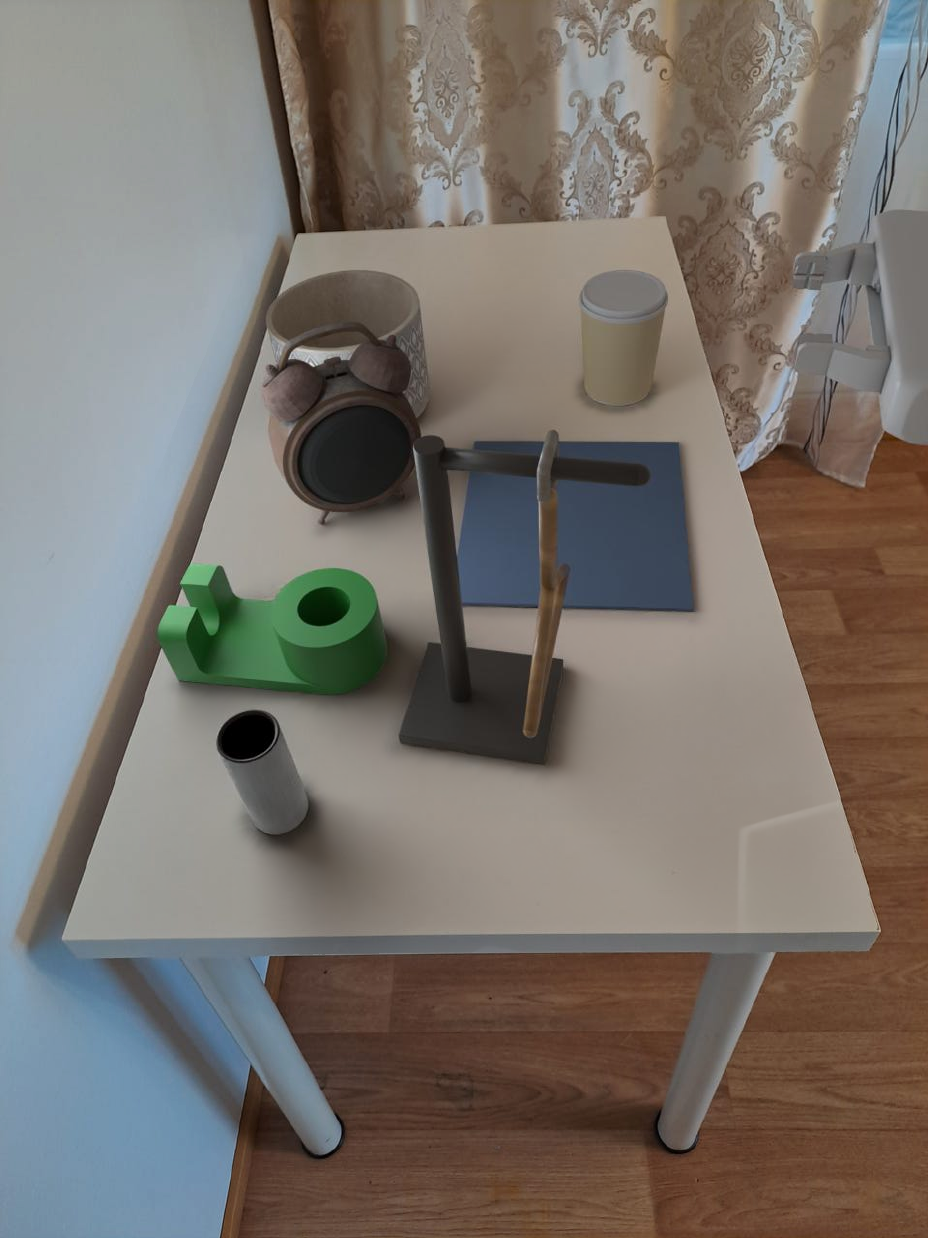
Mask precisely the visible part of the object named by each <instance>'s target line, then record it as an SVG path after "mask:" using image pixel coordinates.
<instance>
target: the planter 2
mask: <svg viewBox="0 0 928 1238" xmlns="http://www.w3.org/2000/svg"><path fill="white" fill-rule="evenodd" d="M420 301H421V300H420V298H419V294H418V293H417V291H416V289H415V288H414V286H412V285H411V284H410V283H409V282H408V281H406V280H404V279H403V278H401V277H399V276H397V275H394V274H390V273H388V272H383V271H377V270H368V269H348V270H340V271H339V270H338V271H333V272H328V273H327V272H326V273H323V274H319V275H316V276H313V277H310V278H307V279H305V280H302V281H300V282H298V283H296V284H293V285H292V286H291V287H288V288H287V289H285V291H283V292H281V293H280V294H279V295H278V296H277V297H276V298H275V299H274V300H273V301H272V303H270V306H269V307H268V309H267V312H266V315H265V325H266V329H267V334H268V338H269V340H270V344H271V345H270V346H271V348H272V352H273V355H274V360H275V365H276V364H278V361H279V358H280V355H281V353H282V350H283V347H284V346H285V344H286V343H287V342H288V341H289V340H291V339H293V338H295V337H296V336H298V335H300V334H302V333H304V332H307V331H309V330H312V329H315V328H319V327H323V326H327V325H330V324H336V323H341V322H358V323H360V324H363V325H364V326H365V327H366V328H367V329H368V330H369V331H371V332H372V333H373V335H374V336H375V337H376V338H377V339H380V340H385V341H386V340H387V338H388V337H389V336H390V335H395V336H396V345H397V346H398V347H399V348H400V349H402V350H403V352H404V353H405V354H406V355H407V357H408V359H409V361H410V365H411V376H410V381H409V384H408V387H407V389H406V391H403V393H404V395H405V396H406V398H407V399H408V401H409V403H410V405H411V407H412V409H413V411H414V414H415V416H416V419H417V420H418V418H419V417H420V416H421V414H423V412H424V411H425V409H426V408H427V406H428V404H429V400H430V396H431V389H430V381H429V371H428V361H427V354H426V345H425V337H424V327H423V318H422V311H421V304H420V303H421V302H420ZM368 340H369V339H368V338H367V337H366V336H365V335H364V334H362V333H360V332H341V333H336V334H331V335H328V336H324V337H320V338H317V339H314V340H311V341H308V342H306V343H305V344H303V345H301V346H299V347H297V348H296V349H294V350H293V351H292V353H291V354H290V357H289V359H298V360H301V361H304V362H306V363H308V364H310V365H311V366H313V367H315V366H317V365H320V364H323V363H324V360H326V359H329V358H333V357H340V358H341V360H350V358H351V356H352V354H353V353H354V351H355V350H356V349H357V347H358V346H359V345H361V344H362V343H363V342H365V341H368Z"/></svg>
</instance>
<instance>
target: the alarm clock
mask: <svg viewBox="0 0 928 1238" xmlns="http://www.w3.org/2000/svg"><path fill="white" fill-rule="evenodd" d="M341 332H360V333H362V334H364V335H365V336H366V337H367V338H368V339H369V340H368V341H365V342H363V343H362V344H361V345H359V346H358V347H357V349H356V350H355V351H354V353H353V354H352V356H351V358H350V360H341V358H340V357H333V358H329V359H326V360H324V363H323V364H320V365H317V366H315V367H313V366H311V365H310V364H308V363H306V362H304V361H301V360H298V359H289V357H290V354H291V353H292V351H293V350H294V349H296V348H297V347H299V346H301V345H303V344H305V343H306V342H308V341H311V340H314V339H317V338H320V337H324V336H328V335H331V334H336V333H341ZM265 372H266V374H265V376H264V378H263V380H262V381H261V382H260V383H261V388H260V397H261V401H262V402H263V404H264V407H265V409H266V410H267V412H268V413H269V414H270V415H269V420H268V439H269V444H270V446H271V451H272V456H273V458H274V462H275V464H276V467H277V468H278V471H279V472H280V474H281V476H282V477H283V479H284V480H285V482H286V484H287V485H288V487H289V488H290V490H291V491H292V492H293V494H294V495H295V496H296V497H297V498H298V499H300V501H301V502H303V503H305V504H307V505H309V506H310V507H313V508H315V509H317V510H321V514H320V518H319V519H318V520H317V522H318V524H319V525H322V526H323V525H325V524H326V518H327V517H328V515H329V514H330V513H352V512H357V511H361V510H365V509H367V508H371V507H373V506H375V505H378V504H379V503H381V502H383V501H385V500H387V499H388V498H389V497H391V496H392V495H394V496H396V497H398V498H399V499H398V500H400V501H402V502H403V501H405V500H406V499H407V496H406V494H404V493H402V492H401V491H400V488H401V487H402V486H403V485H404V484H405V483H406V482H407V480H409V478H410V477H411V475H412V473H413V472H414V470H415V469H416V465H415V458H414V451H413V444H414V442H415V441H416V440H417V439H418V438H420V437H422V431H421V427H420V424H419V421H418V418H417V419H416V416H415V414H414V411H413V409H412V407H411V405H410V403H409V401H408V399H407V398H406V396H405V395H404V393H403V391H406V389H407V387H408V384H409V381H410V376H411V365H410V361H409V359H408V357H407V355H406V354H405V353H404V352H403V350H402V349H400V348H399V347H398V346H397V345H396V336H395V335H390V336H389V337H388V338H387V340H386V341H385V340H380V339H377V338H376V337H375V336H374V335H373V333H372V332H371V331H369V330H368V329H367V328H366V327H365V326H364V325H363V324H360V323H358V322H341V323H336V324H330V325H327V326H323V327H319V328H315V329H312V330H309V331H307V332H304V333H302V334H300V335H298V336H296V337H295V338H293V339H291V340H289V341H288V342H287V343H286V344H285V346H284V347H283V350H282V353H281V355H280V358H279V361H278V364H276V363H275V365H274V364H266V366H265Z"/></svg>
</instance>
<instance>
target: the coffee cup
mask: <svg viewBox="0 0 928 1238" xmlns="http://www.w3.org/2000/svg"><path fill="white" fill-rule="evenodd" d="M578 302H579V307H580V329H581V331H580V332H581V334H580V335H581V353H582V354H581V355H582V356H581V357H582V375H583V387H584V391H585V394H586V395H587V396H588V397H589V398H590V399H591V400H593V401H594V402H597V403H599V404H601V405H605V406H609V407H611V406H612V407H624V406H630V405H635V404H637V403H639V402H642V401H643V400H644V399H645V398H646V397H647V396H649V394H650V392H651V389H652V386H653V381H654V375H655V370H656V365H657V359H658V354H659V349H660V343H661V338H662V331H663V325H664V319H665V314H666V313H665V312H666V308H667V306H668V302H669V294H668V291H667V288H666V286H665V284H664V283H663V282H662V280H661V279H659V278H658V277H656V276H655V275H653V274H650V273H647V272H644V271H639V270H635V269H634V270H632V269H616V270H609V271H604V272H601V273H599V274H596V275H594V276H593V277H591V278H589V279H588V280H587V281H586V282H585V284H583V287H582V289H581V291H580V293H579V297H578Z"/></svg>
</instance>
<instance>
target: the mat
mask: <svg viewBox="0 0 928 1238" xmlns="http://www.w3.org/2000/svg"><path fill="white" fill-rule="evenodd" d="M544 441H545V440H542V441H541V440H540V441H539V440H537V441H536V440H474V441H473V447H472V450H484V451H497V452H509V453H521V454H533V455H541V453H542V449H543V445H544ZM559 457H569V458H581V459H593V460H605V461H617V462H629V463H640V464H644V465H646V466H647V467H648V468H649V470H650V479H649V481H648V483H647V484H645V485H644V486H641V487H634V486H623V485H611V484H600V483H589V482H577V481H566V480H559V481H558V485H557V490H556V493H557V495H558V524H557V567H558V566H559V565H560V564H561V563H567V564H568V565H569V566H570V572H569V578H568V583H567V588H566V593H565V598H564V603H563V608H562V609H582V610H583V609H586V610H587V609H588V610H589V609H590V610H593V609H594V610H619V611H620V610H622V611H623V610H626V611H627V610H628V611H658V612H661V611H662V612H663V611H664V612H694V602H693V601H694V600H693V591H692V589H693V588H692V578H691V577H692V576H691V567H690V554H689V543H688V532H687V531H688V530H687V520H686V511H685V509H686V508H685V496H684V486H683V476H682V463H681V452H680V442H679V441H574V440H573V441H560V440H559ZM465 494H466V495H465V501H464V508H463V514H462V520H461V526H460V535H459V539H458V540H459V541H458V546H457V561H458V570H459V580H460V589H461V598H462V606H475V607H476V606H477V607H478V606H480V607H509V608H511V607H512V608H516V607H517V608H538V606H539V598H540V590H541V588H540V561H539V501H538V499H537V478H532V477H520V476H509V475H497V474H486V473H475V472H468V480H467V487H466V493H465Z"/></svg>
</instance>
